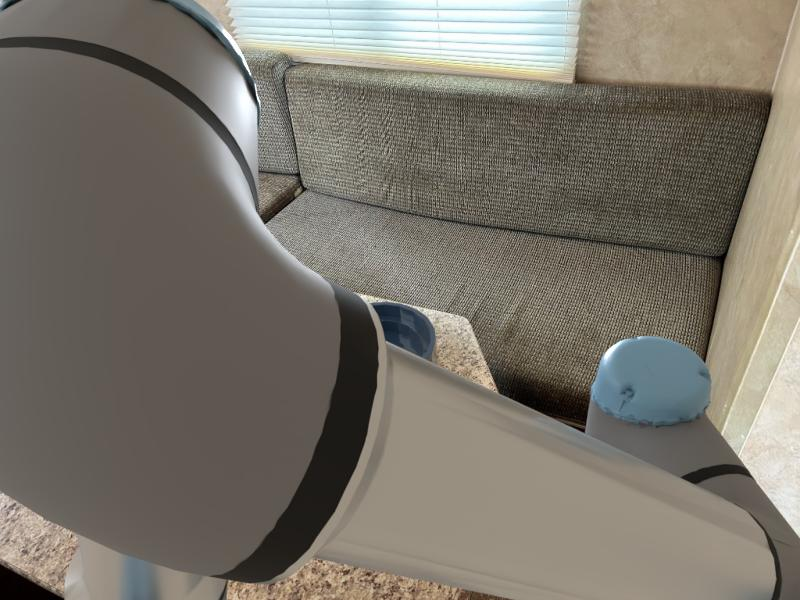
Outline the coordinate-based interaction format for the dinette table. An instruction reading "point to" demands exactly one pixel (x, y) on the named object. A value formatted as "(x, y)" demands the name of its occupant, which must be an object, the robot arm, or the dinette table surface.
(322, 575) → the dinette table surface
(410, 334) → the bowl
